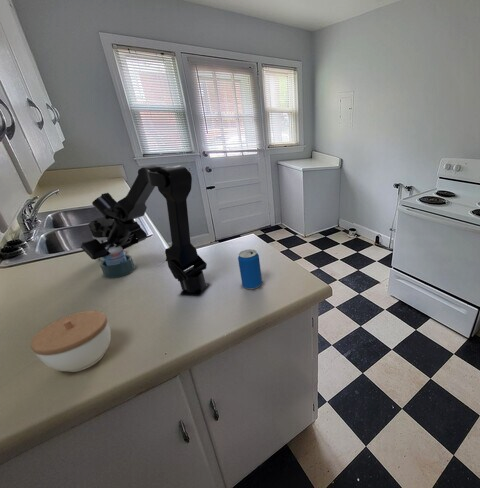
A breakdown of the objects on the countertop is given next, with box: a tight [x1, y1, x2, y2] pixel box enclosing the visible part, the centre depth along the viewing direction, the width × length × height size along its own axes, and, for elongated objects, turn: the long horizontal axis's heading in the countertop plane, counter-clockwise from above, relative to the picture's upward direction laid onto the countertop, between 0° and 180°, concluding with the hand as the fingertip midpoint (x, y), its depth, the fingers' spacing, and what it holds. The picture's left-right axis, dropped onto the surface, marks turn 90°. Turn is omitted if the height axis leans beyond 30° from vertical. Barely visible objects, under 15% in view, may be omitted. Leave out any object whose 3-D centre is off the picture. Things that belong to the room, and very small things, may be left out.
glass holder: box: [87, 222, 127, 262], centre depth 108 cm, size 9×14×15 cm, turn 42°
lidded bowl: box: [29, 310, 112, 373], centre depth 61 cm, size 13×13×11 cm
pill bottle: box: [104, 241, 127, 266], centre depth 98 cm, size 6×6×11 cm
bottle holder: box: [99, 254, 136, 279], centre depth 100 cm, size 9×9×4 cm
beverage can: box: [237, 248, 263, 290], centre depth 88 cm, size 6×6×12 cm
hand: (111, 253), depth 98 cm, fingers closed on pill bottle, 6 cm apart
